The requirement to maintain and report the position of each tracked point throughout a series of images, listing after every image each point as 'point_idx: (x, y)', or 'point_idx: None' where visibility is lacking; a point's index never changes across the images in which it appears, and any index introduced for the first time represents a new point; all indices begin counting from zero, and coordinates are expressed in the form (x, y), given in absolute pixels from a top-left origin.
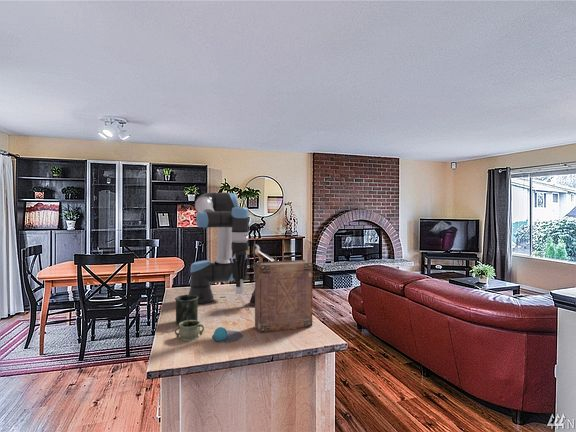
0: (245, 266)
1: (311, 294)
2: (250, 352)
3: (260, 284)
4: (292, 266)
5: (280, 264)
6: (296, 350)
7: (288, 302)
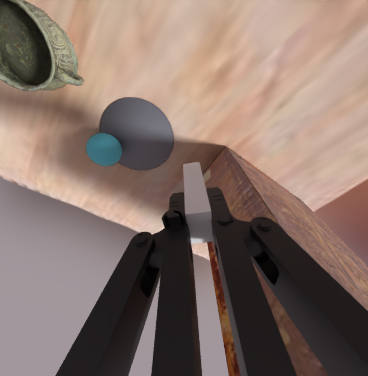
0: (316, 352)
1: None
2: (122, 213)
3: (218, 282)
4: None
5: None
6: None
7: None
